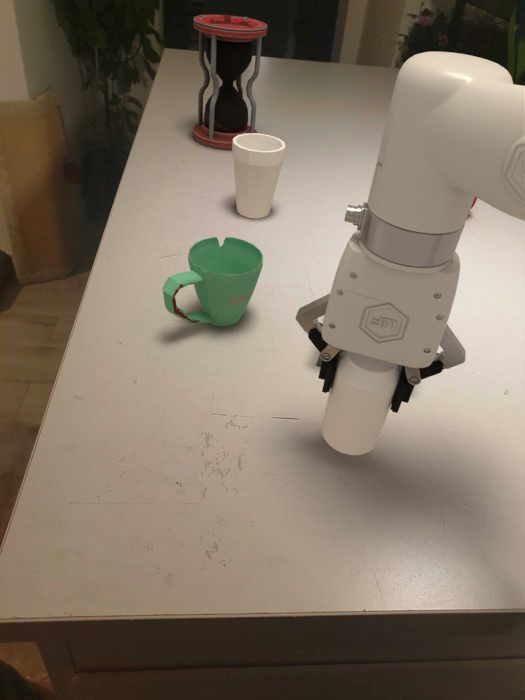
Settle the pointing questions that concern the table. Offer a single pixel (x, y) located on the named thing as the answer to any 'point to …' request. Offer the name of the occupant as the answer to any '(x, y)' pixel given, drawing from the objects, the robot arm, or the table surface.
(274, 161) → the foam cup
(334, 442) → the beverage can
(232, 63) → the hourglass
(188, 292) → the table surface
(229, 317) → the mug
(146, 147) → the table surface
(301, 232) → the table surface
